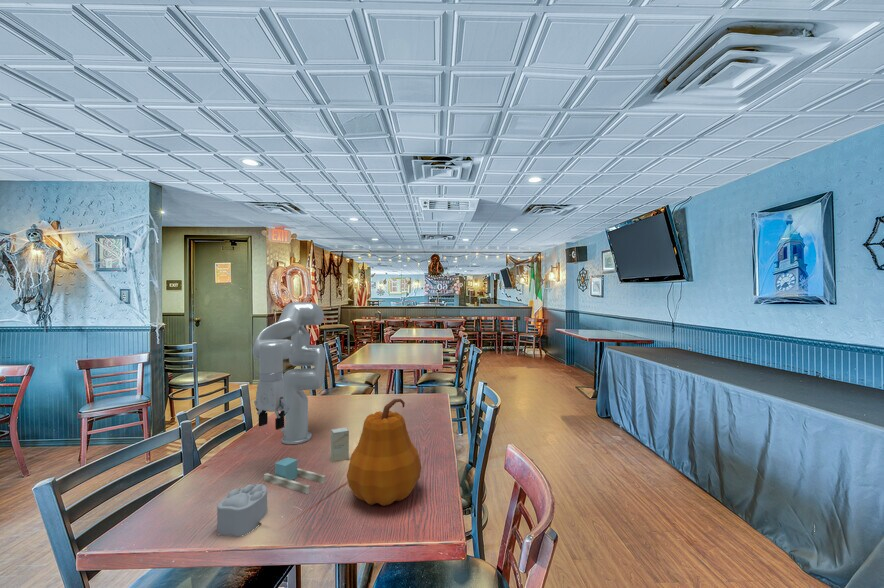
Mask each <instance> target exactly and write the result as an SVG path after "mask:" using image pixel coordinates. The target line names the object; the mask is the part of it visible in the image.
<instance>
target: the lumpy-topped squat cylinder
mask: <svg viewBox="0 0 884 588" xmlns="http://www.w3.org/2000/svg"><path fill="white" fill-rule="evenodd" d="M216 507H217V508H216V510H217V512H216V515H217V517H216V522H217V523H216V534H217V533H218V534H220V535H219V536H229V535H230V537H233V536H235V538H239V537H238V536H241V537H243V536H242V535H244V536H246V535H245V534H247V533H249V532H250V533H252V532H253V531H254V530H255V529H257V528H258V527H259V526H260V525H262V522H260V521H261V520H263V518H265V516H266V515H267V513H268V488H267V486H266V485H265V484H262V483H261V484H260V483H255V484H252V483H251V484H247V485H245V486H244V487H241V488H234V489H231V490H230V491H229V492H228V494H227V496H225V497H224V498H223V499H222V500H221V501H219V502H218V503H217V505H216ZM258 525H259V526H258ZM257 526H258V527H257ZM256 527H257V528H256ZM253 529H254V530H253ZM252 530H253V531H252ZM251 531H252V532H251ZM250 533H249V534H250ZM218 534H217V535H218ZM247 535H248V534H247Z"/></svg>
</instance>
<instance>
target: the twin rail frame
mask: <svg viewBox="0 0 884 588" xmlns="http://www.w3.org/2000/svg"><path fill="white" fill-rule="evenodd" d="M298 477H299V478H302V479H306V480H309V481H312V482H316V483H319V484H325V483H327V481H326V479H327V477H326V474H325V475H324V474H322V473H321V474H320V473H318V472H313V471H310V470H306V469H302V468H298V467H297V478H298ZM263 481H264V482H267V483H270V484H272V485H275V486H279V487H283V488H285V489H288V490H293V491H295V492H299V493H302V494H304V495H305V494H306V495H309V494H310V493H311V485H310V484H306V483H304V482H303V483H302V482H300V481H294V480H289V479H286V478H282V477H279V476H275V474H271V473H269V472H265V473H264V474H263Z"/></svg>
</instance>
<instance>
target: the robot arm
mask: <svg viewBox="0 0 884 588" xmlns="http://www.w3.org/2000/svg"><path fill="white" fill-rule="evenodd" d="M324 317H325V313H324V310H323V308H322V307H321V306H319V304H317V303H315V302H300V301H299V302H290V303H287V304H286V305H285V306H284V308H283V310H282V312H281V315H280V316H279V318H278V320H277V322H274V323H273V324H271V325H269V326H267V327H266V328H264V329H262V330H261V331H260V333H259V334H258V335H257V337H256V339H255V341H254V343H253V346H252V355H253V357H254V359H256V360H258V361H259V380H258V382H257V387H256V396H255V400H254V402H253V403H254V406H255V409H256V411H257V413H256V414H257V415H258V427H263V426H265V425H268V419H269V418H268V412H271V413H274V414H275V416H276V418H275V419H274V420H275V422H274V423H275V426H274V427H275V428H274V429H275V430H276V431H278V430H280V433H281V434H283V436H282V437H281V442H282V444H284V445H299V444H302V443H306V442H308V441H309V440H311V438H312V437H313V435H312V432H309V410H308V409H309V399H308V396H307V394H306V393H305V392H304V391H311V390H319V389H322V388H323V386H324V383H325V373H326V372H325V371H326V349H325V348H324V346H323V345H319V344H310V343H311V342H310V341H311V334H310V332H309V331H308V330H307V329H306V327H304V326H319V325H321V324H322V323H323V321H324ZM288 337H290V339H288ZM284 360H288V361H289V364H290V365H291V366H293V367H307V368H291V369H289V370H286V371H285V372H284ZM310 366H311V367H313V368H311V367H310Z"/></svg>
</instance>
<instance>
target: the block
mask: <svg viewBox="0 0 884 588" xmlns="http://www.w3.org/2000/svg"><path fill="white" fill-rule="evenodd" d="M297 468H298V459H296V458H291V457H285V458H283V459H281V460H278V461H276V462H274V475H275V476H279V477H282V478H286V479H289V480H292V481H294V480H296V479H298V476H297Z"/></svg>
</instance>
